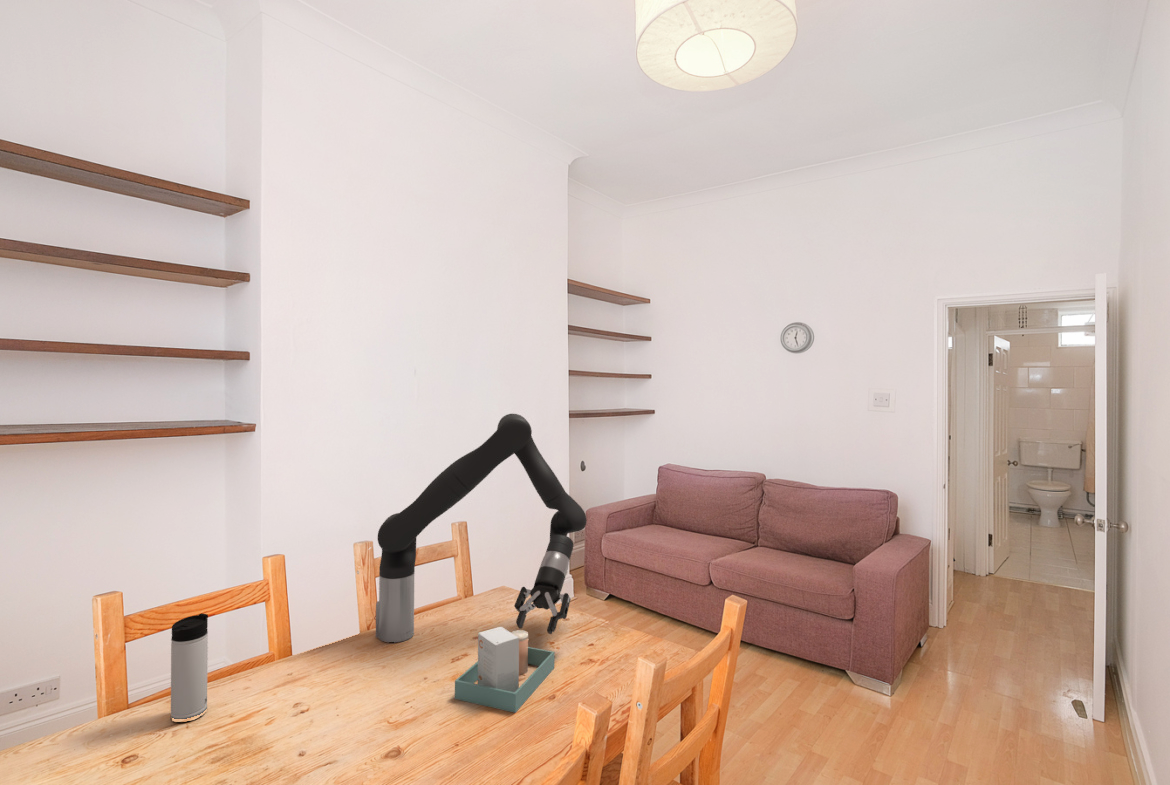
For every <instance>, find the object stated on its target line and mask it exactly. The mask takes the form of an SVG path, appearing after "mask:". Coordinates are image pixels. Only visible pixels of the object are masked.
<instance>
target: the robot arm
mask: <svg viewBox="0 0 1170 785" xmlns="http://www.w3.org/2000/svg"><path fill="white" fill-rule="evenodd" d="M532 431H533V430H532V427H531V424H530V423H529V422H528V420H527V419H526V418H525V417H524V416H523V415H520V414H518V413H509V414H508V413H507V414H505V415H504V416H502V417H501V418H500V420H499V421H498V424H497V428H496V431H494V432H493V434H491V435H490V436H489V438H487V439H486V440H485V441H484V442H483V443H482V444H481V445H480V446H478V447H477V448H475V449H473V450H472V451H470V452H468V453H466V454H465V455H463V456H461V457H459V458H458V459H457V460H455V461H453V462H452V463H450V465H449V466H447V467H446V468H444V470H442V471H441V472H440V473H439V474H438V475H437V476H436V477H435V478H434V479H433V480H432V481H431V482H430V483H429V484H428V485H427V487H425V489H424V490H423V491H422V492H421V493H420V495H419V496H418V497H416V499H415V500H413V502H412V503H411V504H409V505H408V506H407V507H405V508H404V509H403V510H401V511H400V512H397V513H393V514H391V515H390V516H388V517H387V518H386V519H385V520H384V522H383V523H382V524H381V526H380V527H379V529H378V532H377V543H378V546H379V547H380V549H381V557H380V561H379V562H380V563H379V571H378V572H379V573H378V574H379V577H378V580H379V582H378V585H379V587H378V590H379V591H378V592H379V593H378V597H379V598H378V601H377V602H376V603H375V638H378V639H379V640H380V641H381V642H383V641H385V642H384V643H389V642H394V643H400V642H404V641H408V640H410V639H411V638H412V637H413V636H414V634H415V633H414V632H415V572H416V571H415V569H416V568H415V566H416V560H417V537H418V536H420V533H422V532H423V531H424V530H425V529H426V528H427V527H428V526H429V525H430V524H431V523H432V522H434V521H435V520H436V519H438V518H439V517H441V515H443V514H444V513H446V512H447V511H448V510H450V509H451V508H452V507H453V506H455V505H456V504H457V503H458V502H460V501H461V500H463V499H464V498H465V497H466V496H467V495H469V494H470V492H472V491H473V490H474V489H475V488H476V487H477V486H478V485H479V484H480V483H481V482H482V481H483V480H485V479H486V478H487V477H488V476H489V475H490V474H491V473H492V472H493V471H494V470H495V468H497V467H498V466H499V465H501V463H503V462H504V461H506V460H507V459H509V458H510V457H511V456H512V455H515V456H516V457H517V459H518V461H519V462H520V463H521V465H522V467H523V469H524V470H525V472H526V474H527V476H528V479H529V480H530V482H531V484H532V485H533V487H534V489H535V491H536V493H537V495H538V496H539V497H540V499H541V500H542V502H543V504H544V505H545V507H547V509H551V510H557V511H556V512H555V513H554V514H553V516H552V517H551V520H550V527H549V542H548V544H547V546H546V547H547V548H546V550H545V552H544V556H543V557H542V560H541V562H540V566H539V568H538V571H537V574H536V578H535V580H534V583H533V584H534V585H533V587H532V588H531V589H529V588H526V587H525V586H522V587H521V588H520V591H519V594H518V595H517V598H516V601H515V603H514V608H515V609H516V611H517V612H518V615H517V618H516V621H515V622H516V627H517V628H518V629H519V630H523V626H524V623H525V621H526V618H527V614H528V613H530V612H531V611H533V610H535V609H536V608H537V609H544V610H550V612H551V614H552V616H550V619H549V621H548V626H547V628H546V632H547V633H548V635H552V634H553V633H554V632H555V631H556V628H557V625H558V621H559V620H561V619H562V620H565V619H567V616H568V612H569V608H570V605H571V604H570V603H571V596H570V595H569V593H567V592H565V593H561V592H562V589H563V586H564V583H565V580H566V576H567V574H568V569H569V564H570V560H571V557H572V553H573V550H574V541H573V540H572V538H570V537H569V536H568V534H571V533H578V532H581V531H583V530H584V529H585V528H586V525H587V520H588V519H587V515H586V513H585V510H584V509H583V508H582V506H581V505H580V504H579V503H578V502H577V501H576V500H575V499H574V498H573V497H572V496H571V495H569V494H568V493H567V492H566V490H565V488H564V487H563V485H562V483H561V482H560V481H559V479H558V477H557V475H556V474H555V473H554V471H553V469H552V468H551V466H550V465H549V464H548V463H547V461H546V460H545V458H544V457H543V455H542V453H541V452H540V451H539V449H538V447H537V445H536V443H535V440H534V439H533V436H532V435H533V434H532V433H533V432H532ZM529 596H530V597H529ZM527 598H528V599H527ZM559 601H561V604H560V609H559V611H558V610H557V606H556V604H557V603H558V602H559Z"/></svg>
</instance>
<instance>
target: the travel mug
mask: <svg viewBox="0 0 1170 785" xmlns="http://www.w3.org/2000/svg"><path fill="white" fill-rule="evenodd" d="M208 618H209V614H207V613H203V612H202V613H199V614H196V615H190V616H187V617H184V618H182V619H179V620H178V621H175V623H173V624H172V626H171V638H170V641H171V642H170V643H171V644H170V646H171V648H170V652H171V653H170V718H171V717H172V718H174V719H187V718H191V717H194V716H197V715H200V714H201V713H203V712H204V711H205V710H206V709H207V710H208V663H209V662H208V661H209V660H208V659H209V657H208V653H209V650H208V649H209V647H208V644H209V642H208V639H209V638H208V637H209V635H208V634H209V631H208V624H209V623H208V620H209V619H208Z"/></svg>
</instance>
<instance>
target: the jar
mask: <svg viewBox="0 0 1170 785" xmlns="http://www.w3.org/2000/svg"><path fill="white" fill-rule="evenodd" d="M510 632H511V633H512V634H514V635H516V636H517V637H519V676H523V675H525V674H526V673H528V670H529V669H528V668H529V667H528V665H529V664H528V647H529V632H528V631H526V630H523V629H519V630H518V629H517V630H513V631H510Z"/></svg>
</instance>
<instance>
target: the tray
mask: <svg viewBox="0 0 1170 785" xmlns="http://www.w3.org/2000/svg"><path fill="white" fill-rule="evenodd" d="M555 654H556V653H555V651H552V650H546V649H542V648H536V647H530V646H528V665H533V666H535V667H536V666H537V668H536V669H535V670H534V671H533V672H532V673H531V674H530V675H529V677H527V679H525V680H524V682H523V683H522V684H521V685H519V688H518V689H517V691H516V692H510V691H506V690H501V689H497V688H492V687H487V686H483V685H478V684H477V683H476V682H478V660H477V661H476V662H475V663H474V664H473V665H471V666H470V667H469V668H468V669H467V670H465V671H464V673H462V674H461V675H460V676H459V677H457V678H456V679H455V680H454V700H459V701H462V702H467V703H471V704H475V705H480V706H485V707H490V708H492V709H497V710H502V711H506V712H510V713H511V712H512V713H517V712H518V711H519V709H521V707H522V706H523V705H524V703H526V701H527V700H528V699H529V698H530V697H531V696H532V694H534V692H535V691H536V690H537V688H538V687H539V686H540V685H541V684H542V683H543V682H544V681H545V679H546V678H547V677H548V676H549V675H550V674H551V673H552V671H553V670H554V669H555Z"/></svg>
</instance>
